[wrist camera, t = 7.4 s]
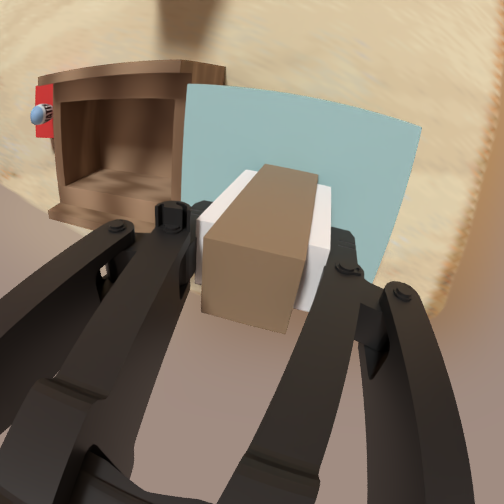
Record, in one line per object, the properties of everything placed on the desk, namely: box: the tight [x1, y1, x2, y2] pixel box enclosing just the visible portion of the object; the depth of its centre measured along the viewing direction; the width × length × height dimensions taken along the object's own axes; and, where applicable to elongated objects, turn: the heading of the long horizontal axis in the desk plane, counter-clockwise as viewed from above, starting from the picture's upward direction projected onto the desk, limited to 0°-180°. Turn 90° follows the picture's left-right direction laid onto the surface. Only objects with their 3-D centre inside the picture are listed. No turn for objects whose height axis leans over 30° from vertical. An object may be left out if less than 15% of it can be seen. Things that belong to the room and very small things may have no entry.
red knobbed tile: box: [31, 84, 54, 138], centre depth 26 cm, size 8×7×6 cm
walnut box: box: [38, 60, 225, 233], centre depth 25 cm, size 15×14×9 cm
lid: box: [181, 84, 422, 334], centre depth 14 cm, size 13×11×10 cm
